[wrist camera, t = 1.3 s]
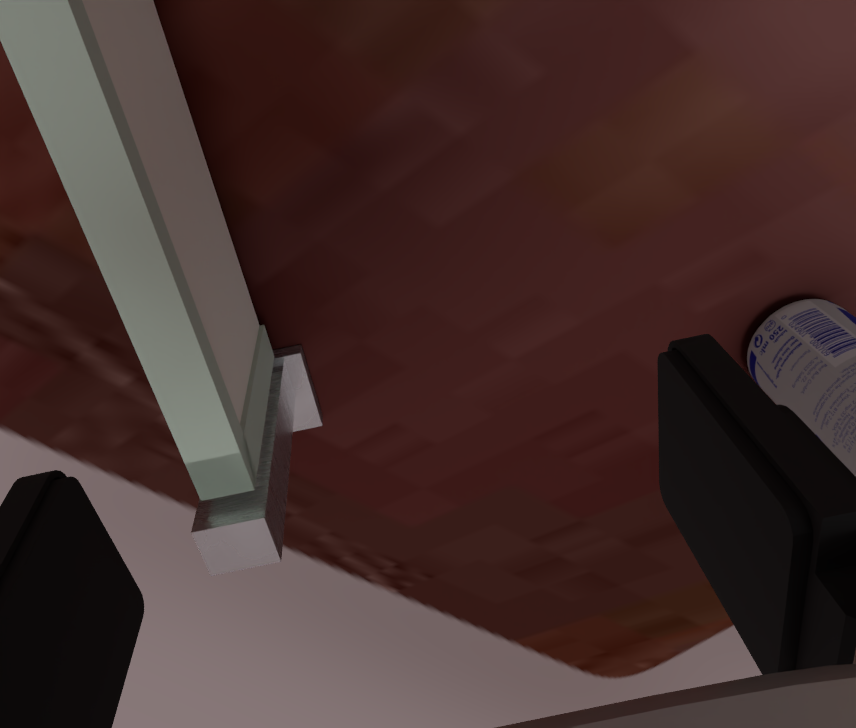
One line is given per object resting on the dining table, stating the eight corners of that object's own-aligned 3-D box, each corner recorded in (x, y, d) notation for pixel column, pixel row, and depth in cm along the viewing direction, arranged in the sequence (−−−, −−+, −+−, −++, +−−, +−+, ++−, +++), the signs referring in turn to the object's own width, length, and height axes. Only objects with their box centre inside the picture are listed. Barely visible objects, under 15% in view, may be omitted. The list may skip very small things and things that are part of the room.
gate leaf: (37, -184, 22) (-127, -251, 14) (96, -195, 22) (-35, -269, 14) (233, 364, 32) (201, 500, 24) (274, 356, 32) (254, 490, 24)
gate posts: (-66, -383, 20) (-418, -666, 11) (76, -410, 20) (-151, -717, 11) (240, 432, 35) (204, 616, 25) (322, 416, 35) (317, 593, 25)
